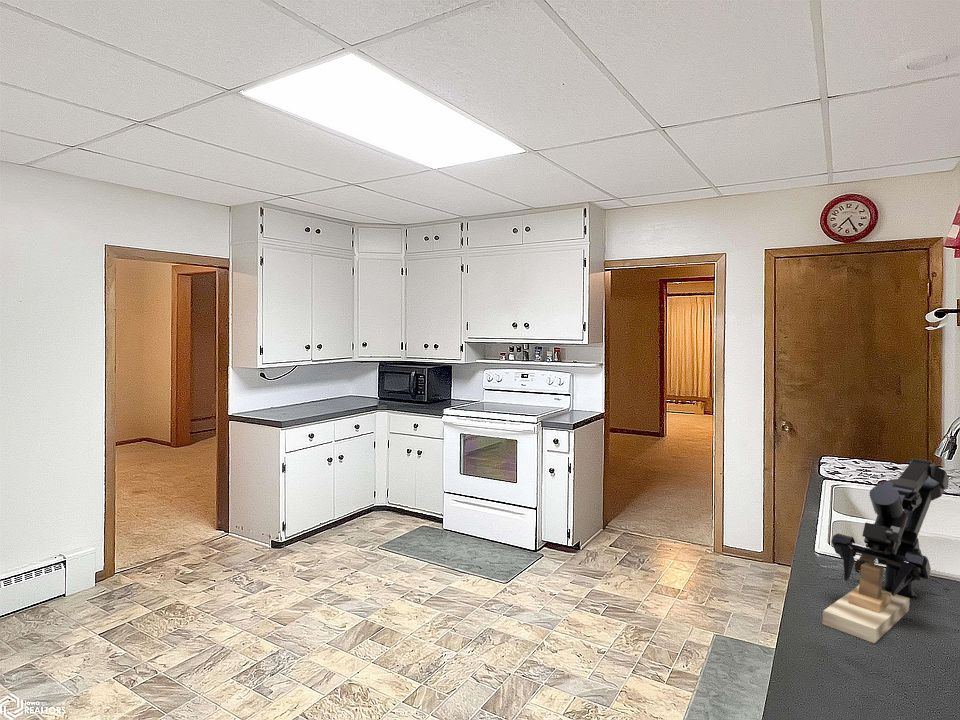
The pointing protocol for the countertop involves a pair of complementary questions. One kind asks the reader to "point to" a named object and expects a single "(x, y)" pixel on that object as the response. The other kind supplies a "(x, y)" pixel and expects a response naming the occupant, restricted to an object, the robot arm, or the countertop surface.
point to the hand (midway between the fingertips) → (868, 587)
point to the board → (865, 617)
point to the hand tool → (863, 561)
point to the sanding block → (870, 589)
